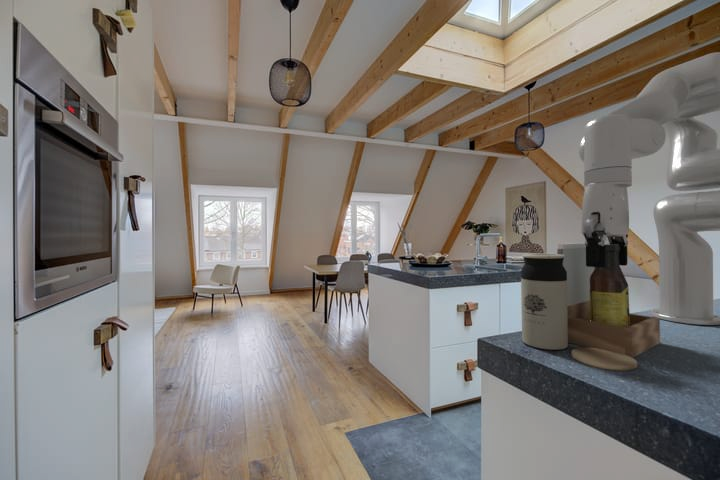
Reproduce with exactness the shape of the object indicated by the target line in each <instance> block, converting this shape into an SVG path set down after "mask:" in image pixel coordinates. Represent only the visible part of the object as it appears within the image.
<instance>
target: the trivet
mask: <svg viewBox="0 0 720 480" xmlns="http://www.w3.org/2000/svg"><path fill="white" fill-rule="evenodd" d="M571 357H572V358H573V359H574V360H576V361H577V362H580V363H582V364H585V365H586V366H587V365H588V366H590V367H594V368H599V369H602V370H610V371H620V372H621V371H622V372H623V371H624V372H625V371H626V372H627V371H633V370H635V369H637V368H638V361H637V360H636V359H635V358H634V357H633V358H632V357H630V356H628V355H625V354H622V353H619V352H615V351H611V350H606V349H600V348H589V347H585V346H584V347H575V348H574V349H572V350H571Z"/></svg>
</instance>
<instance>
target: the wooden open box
mask: <svg viewBox="0 0 720 480" xmlns="http://www.w3.org/2000/svg"><path fill="white" fill-rule="evenodd" d="M567 315H568V344H569V343H570V344H574V345H578V346H581V347H584V348H585V347H587V348H600V349H606V350H611V351H615V352H619V353H622V354H625V355H628V356H630V357H632V358H633V359H634V358H635V357H637V356H639V355H641V354H642V353H644V352H646V351H648V350H650V349H651V348H653V347H655V346H657V345H659V344H660V343H661V329H660V327H661V321H660V318H657V317H654V316H649V315H643V314H642V315H641V314H636V313H630V327H621V326H616V325H611V324H605V323H600V322H594V321H590V320H591V318H590V301H586V302H582V303H578V304H574V305H570V306H567Z"/></svg>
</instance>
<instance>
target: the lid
mask: <svg viewBox="0 0 720 480" xmlns="http://www.w3.org/2000/svg"><path fill="white" fill-rule="evenodd" d="M556 252H557V253H556V254H561V255H565V258H564V259H563V264H562V265H563V266H564V268H565V270H566V271H567V306H570V305H574V304H578V303H582V302H586V301H590V294H589V291H590V276H591V274H592V273H593V271H594V270H595V267H587V266H586V246H585V242H575V243H558V244H557V251H556Z"/></svg>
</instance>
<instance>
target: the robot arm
mask: <svg viewBox="0 0 720 480" xmlns="http://www.w3.org/2000/svg"><path fill="white" fill-rule="evenodd" d="M650 79H651V80H649V82H648V83H647V84H646V85H645V87H643V89H642V90H641V91H640V92H639V94H637V96H636V97H635V98H633V99H632V100H630V101H628V102H627V103H624V104H623V105H621V106H620V107H618V108H617V109H614V110H613V111H612V112H610V113H609V114H607V115H602V116H599V117H596V118H594V119H592V120H590V121H589V122H588V123H587V124H585V126H584V131H583V137H581V139H580V142H579V145H578V155H579V158H580V160H581V161H582V162H583V164H584V165H583V167H584V168H583V186H584V187H583V189H584V192H583V197H582V206H581V207H582V208H581V223H580V225H581V227H580V228H581V229H580V233H581V235H583V238H585V240H584V243H585V246H586V266H587V267H594V268H596V267H602V268H603V267H606V246H604V244H606V240H607V241H608V242H609V243H608V244H618V245H619V248H620V251H619V264H620V265H619V266H622V267H625V266H627V265H628V245H629V241H628V237H629V231H630V210H629V209H630V207H629V195H628V188H629V187H631V186H632V185H633V182H632V179H633V176H632V175H633V174H632V173H633V170H632V167H633V166H632V165H633V163H632V162H633V160H635V159H639V158H643V157H644V158H645V157H648V156H650V155H653V154H655V153H657V152H658V151H659V150H660V149H662V148H663V146H664V144H665V142H666V135H667V137H668V140H669V153H668V159H667V170H666V184H667V186H668V188H669V189H671V190H673V191H676V192H686V193H677V194H671V195H667V196H664V197H662V198H661V199H659V200H658V201H656V202H655V204H654V206H653V210H652V211H653V219H654V223H655V227H656V233H657V239H658V284H659V285H658V286H659V287H658V289H659V290H658V292H659V294H658V295H659V309H660V310H655V309H653V311H652V310H651V315H652V317H657V318H660V319H661V320H665V321H669V322H675V323H679V324H680V323H682V324H687V325H688V324H689V325H698V326H699V325H700V326H701V325H702V326H719V325H720V316H719V315H715V313H714V252H713V248H712V246H711V245H710V243H709V242H707V240H706V239H704V237H702V236H701V235H700V234H699V232H700V233H701V232H720V147H719V148H717V146H718V139H719V138H718V137H719V136H718V133H717V130H715V129H714V128H712V126H709V125H708V124H707V123H705V122H702V121H700V120H698V119H696V118H694V117H698V116H702V115H707V114H710V113H715V112H719V111H720V51H716V52H711V53H708V54H704V55H702V56H700V57H696V58H694V59H691V60H688V61H686V62H682V63H681V64H677V65H674V66H673V67H669V68H667V69H664V70H662V71H661V72H659V73H657V74H656V75H655V76H654V77H652V78H650ZM632 187H633V186H632ZM712 189H713V190H712ZM714 189H719V190H714ZM704 190H710V191H704ZM687 191H688V192H687ZM689 191H690V192H689ZM692 191H693V192H692ZM694 191H695V192H694ZM696 191H697V192H696ZM663 308H664V309H663Z"/></svg>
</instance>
